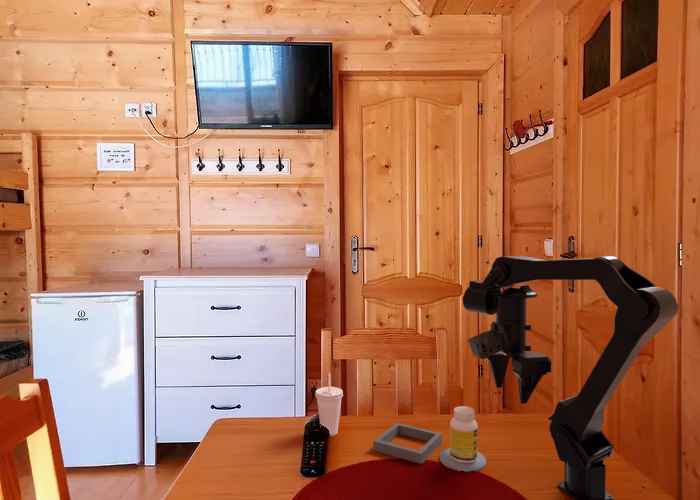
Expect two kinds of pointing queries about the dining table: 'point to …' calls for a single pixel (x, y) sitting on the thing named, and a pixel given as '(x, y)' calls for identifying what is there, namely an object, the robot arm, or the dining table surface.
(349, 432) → the dining table surface
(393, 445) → the frame
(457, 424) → the supplement bottle
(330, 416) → the smoothie
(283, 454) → the dining table surface
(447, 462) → the coaster
